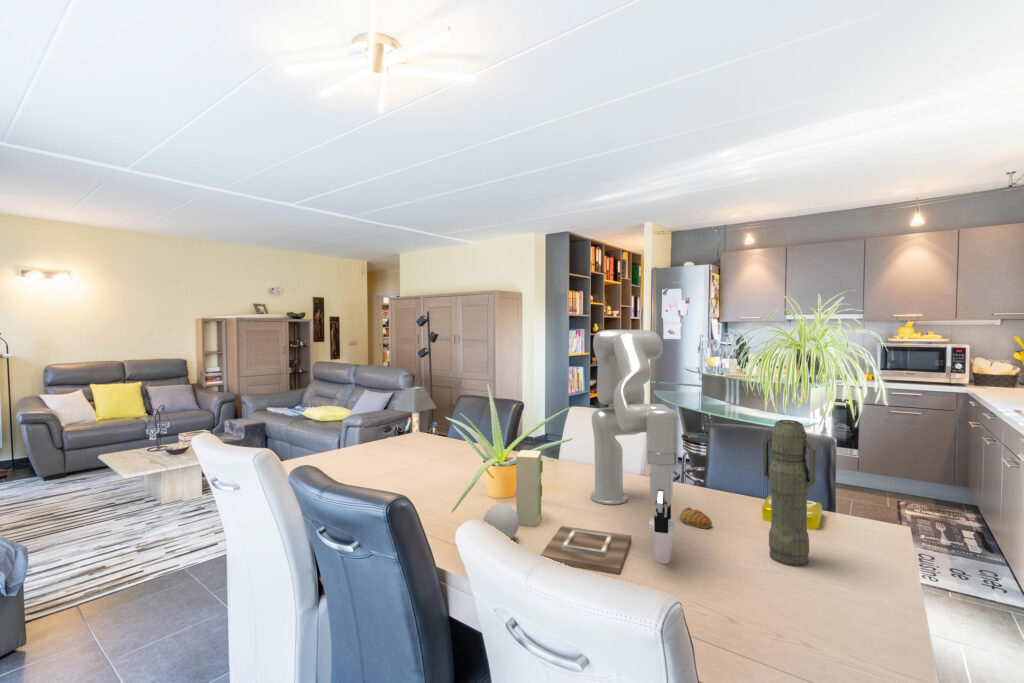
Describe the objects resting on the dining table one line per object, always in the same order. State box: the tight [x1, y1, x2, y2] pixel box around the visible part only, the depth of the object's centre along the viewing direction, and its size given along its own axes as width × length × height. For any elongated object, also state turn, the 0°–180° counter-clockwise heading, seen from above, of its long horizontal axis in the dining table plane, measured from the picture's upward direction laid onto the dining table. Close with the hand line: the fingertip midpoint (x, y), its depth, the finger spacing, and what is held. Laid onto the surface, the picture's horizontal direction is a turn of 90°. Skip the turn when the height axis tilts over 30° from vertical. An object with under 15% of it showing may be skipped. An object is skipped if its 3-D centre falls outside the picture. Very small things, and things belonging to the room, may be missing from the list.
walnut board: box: [540, 525, 632, 575], centre depth 131 cm, size 20×20×3 cm
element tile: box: [761, 494, 823, 531], centre depth 153 cm, size 15×15×5 cm
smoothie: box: [648, 518, 676, 564], centre depth 125 cm, size 6×6×14 cm
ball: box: [483, 503, 520, 540], centre depth 138 cm, size 10×10×10 cm
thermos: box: [763, 419, 817, 567], centre depth 125 cm, size 9×12×35 cm
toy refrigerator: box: [515, 449, 544, 527], centre depth 152 cm, size 8×7×21 cm
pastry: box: [679, 507, 713, 530], centre depth 149 cm, size 9×7×4 cm
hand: (663, 525), depth 125 cm, fingers open, 9 cm apart
